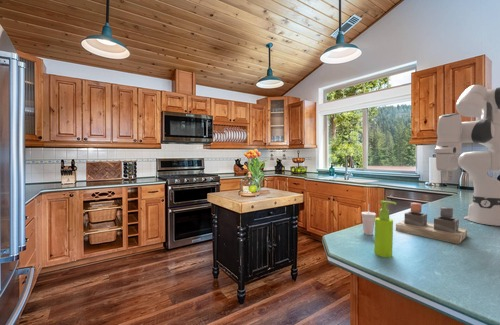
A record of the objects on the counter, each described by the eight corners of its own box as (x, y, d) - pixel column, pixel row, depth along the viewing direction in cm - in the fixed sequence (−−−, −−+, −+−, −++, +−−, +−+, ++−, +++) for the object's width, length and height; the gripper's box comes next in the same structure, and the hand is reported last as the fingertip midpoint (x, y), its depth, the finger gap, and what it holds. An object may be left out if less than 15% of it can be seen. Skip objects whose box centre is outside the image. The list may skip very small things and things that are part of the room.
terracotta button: (412, 210, 124) (412, 202, 124) (422, 211, 121) (422, 203, 121) (409, 211, 121) (409, 203, 121) (419, 213, 118) (419, 204, 118)
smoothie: (375, 232, 117) (376, 203, 117) (376, 236, 111) (376, 205, 111) (360, 230, 120) (361, 202, 119) (360, 234, 114) (361, 204, 113)
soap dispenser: (395, 259, 88) (396, 203, 87) (373, 255, 91) (374, 201, 90) (395, 253, 93) (397, 200, 92) (375, 249, 96) (376, 198, 95)
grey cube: (441, 214, 115) (442, 206, 115) (453, 216, 112) (454, 208, 111) (439, 216, 112) (439, 207, 112) (451, 218, 109) (451, 209, 109)
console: (407, 224, 131) (408, 209, 131) (466, 235, 113) (467, 218, 112) (395, 230, 121) (396, 213, 121) (458, 244, 102) (459, 225, 102)
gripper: (446, 150, 120) (445, 178, 120) (433, 149, 107) (432, 181, 107) (462, 149, 115) (461, 179, 115) (451, 149, 102) (450, 182, 102)
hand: (447, 180), depth 111 cm, fingers open, 7 cm apart
